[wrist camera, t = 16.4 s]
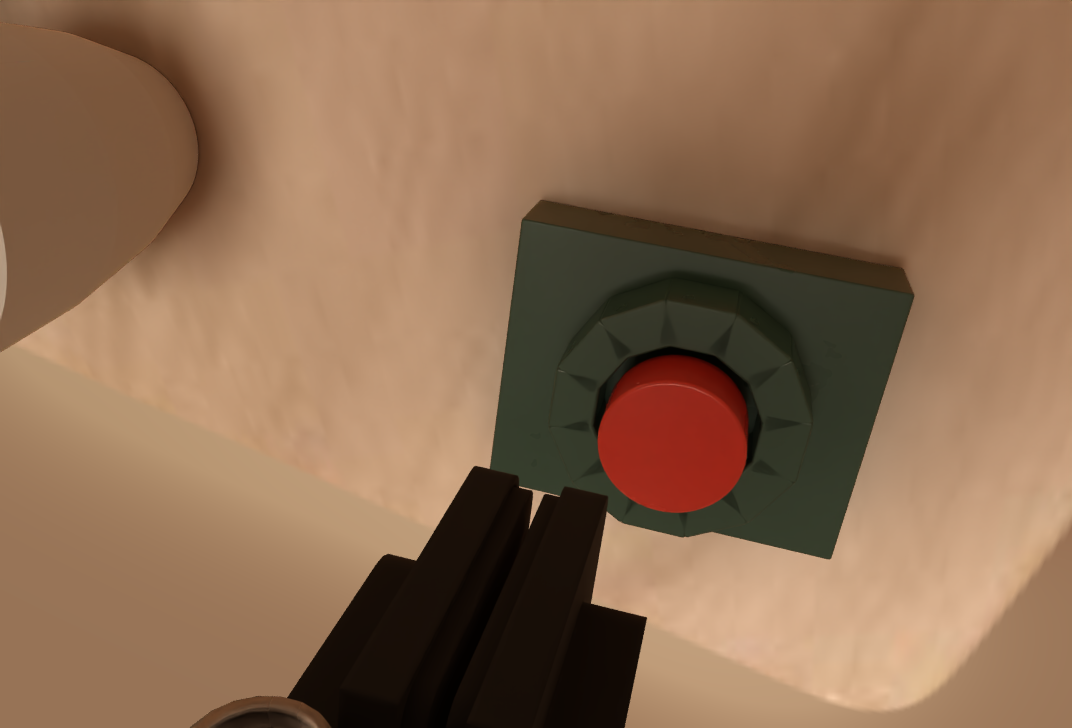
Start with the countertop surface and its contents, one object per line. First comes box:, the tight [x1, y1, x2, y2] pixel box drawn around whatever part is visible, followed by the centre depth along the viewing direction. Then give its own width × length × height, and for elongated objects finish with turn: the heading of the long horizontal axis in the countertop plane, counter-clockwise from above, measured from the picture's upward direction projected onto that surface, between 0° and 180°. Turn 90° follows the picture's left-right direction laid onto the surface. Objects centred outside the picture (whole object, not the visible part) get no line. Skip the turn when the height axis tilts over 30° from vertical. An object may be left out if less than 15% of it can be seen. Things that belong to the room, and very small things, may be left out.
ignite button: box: [597, 355, 749, 513], centre depth 24 cm, size 4×4×2 cm
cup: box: [0, 22, 198, 352], centre depth 25 cm, size 8×8×10 cm
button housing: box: [490, 200, 914, 559], centre depth 26 cm, size 10×8×4 cm
